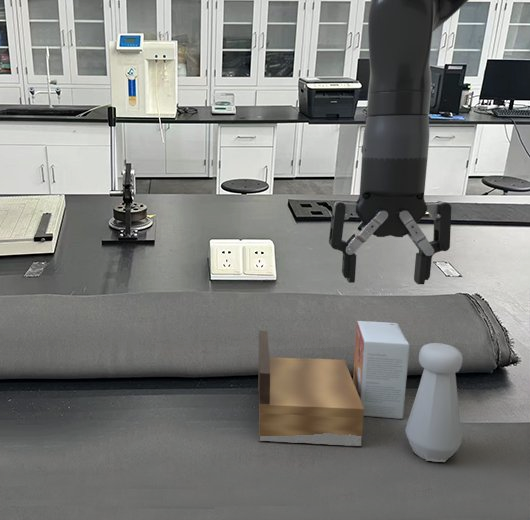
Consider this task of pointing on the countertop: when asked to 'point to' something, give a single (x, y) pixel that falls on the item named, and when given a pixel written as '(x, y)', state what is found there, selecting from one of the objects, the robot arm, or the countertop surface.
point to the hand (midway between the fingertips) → (384, 282)
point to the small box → (381, 368)
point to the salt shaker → (436, 404)
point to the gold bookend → (306, 396)
